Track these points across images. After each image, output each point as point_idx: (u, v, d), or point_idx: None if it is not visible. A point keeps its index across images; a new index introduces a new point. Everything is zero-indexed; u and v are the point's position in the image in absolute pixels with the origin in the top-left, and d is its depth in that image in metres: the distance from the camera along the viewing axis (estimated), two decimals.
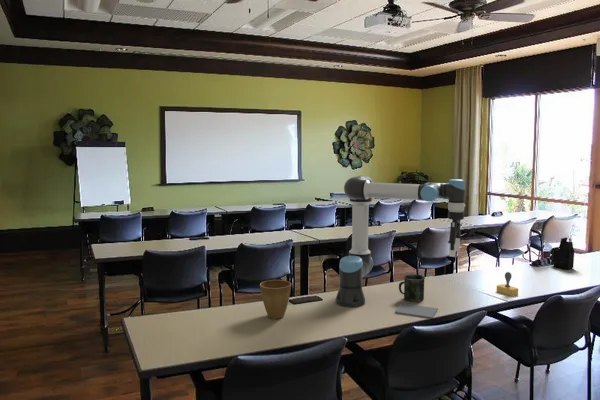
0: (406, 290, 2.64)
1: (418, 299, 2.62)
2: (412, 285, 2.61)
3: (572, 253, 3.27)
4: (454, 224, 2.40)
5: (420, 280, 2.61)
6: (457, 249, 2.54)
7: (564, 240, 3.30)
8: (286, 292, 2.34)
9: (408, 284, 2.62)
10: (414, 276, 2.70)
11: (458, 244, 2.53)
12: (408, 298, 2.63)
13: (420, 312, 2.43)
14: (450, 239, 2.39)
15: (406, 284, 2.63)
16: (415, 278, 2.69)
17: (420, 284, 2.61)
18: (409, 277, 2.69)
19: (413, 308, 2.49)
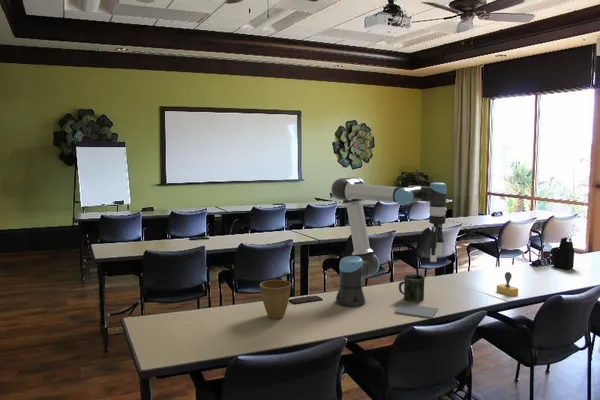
0: (406, 290, 2.64)
1: (418, 299, 2.62)
2: (412, 285, 2.61)
3: (572, 253, 3.27)
4: (435, 228, 2.35)
5: (420, 280, 2.61)
6: (439, 254, 2.48)
7: (564, 240, 3.30)
8: (286, 292, 2.34)
9: (408, 284, 2.62)
10: (414, 276, 2.70)
11: (440, 249, 2.48)
12: (408, 298, 2.63)
13: (420, 312, 2.43)
14: (431, 244, 2.34)
15: (406, 284, 2.63)
16: (415, 278, 2.69)
17: (420, 284, 2.61)
18: (409, 277, 2.69)
19: (413, 308, 2.49)
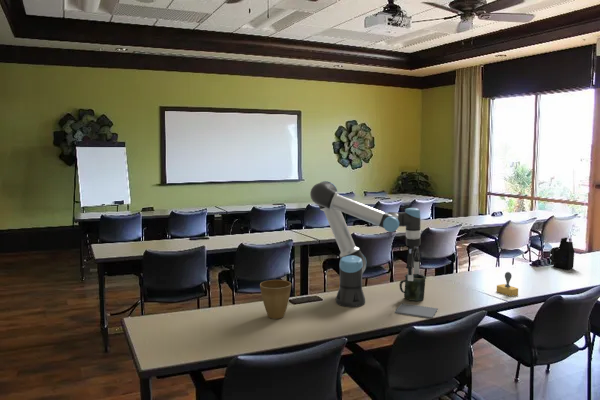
0: (407, 289, 2.64)
1: (418, 298, 2.62)
2: (413, 284, 2.61)
3: (572, 253, 3.27)
4: (411, 251, 2.57)
5: (421, 279, 2.61)
6: (417, 272, 2.70)
7: (564, 240, 3.30)
8: (286, 292, 2.34)
9: (409, 283, 2.62)
10: (415, 276, 2.70)
11: (417, 267, 2.70)
12: (409, 297, 2.63)
13: (420, 312, 2.43)
14: (407, 265, 2.55)
15: (407, 283, 2.64)
16: (416, 278, 2.70)
17: (421, 283, 2.61)
18: None
19: (413, 308, 2.49)
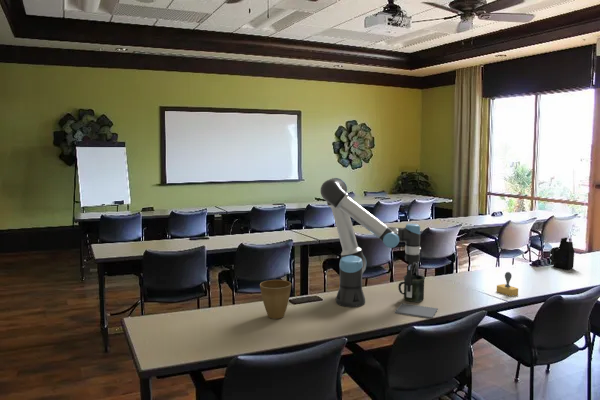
0: (406, 290, 2.63)
1: (418, 299, 2.61)
2: (412, 285, 2.60)
3: (572, 253, 3.27)
4: (410, 267, 2.58)
5: (420, 280, 2.60)
6: None
7: (564, 240, 3.30)
8: (286, 292, 2.34)
9: None
10: (414, 276, 2.69)
11: None
12: (408, 299, 2.62)
13: (420, 312, 2.43)
14: (406, 282, 2.57)
15: None
16: (415, 278, 2.69)
17: (420, 284, 2.61)
18: None
19: (413, 308, 2.49)
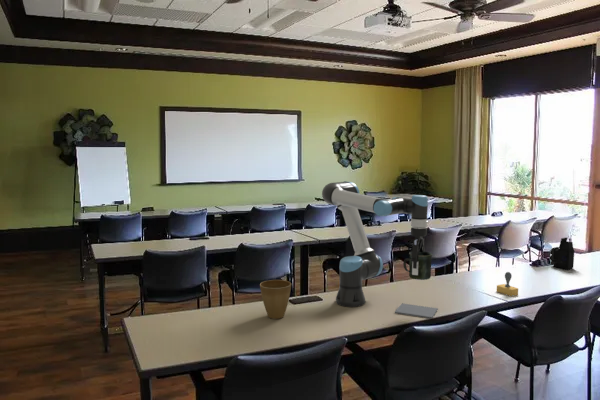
0: (411, 267, 2.42)
1: (424, 277, 2.40)
2: (418, 262, 2.39)
3: (572, 253, 3.27)
4: (416, 242, 2.37)
5: (427, 256, 2.39)
6: None
7: (564, 240, 3.30)
8: (286, 292, 2.34)
9: None
10: (420, 253, 2.48)
11: None
12: (414, 276, 2.41)
13: (420, 312, 2.43)
14: (412, 258, 2.36)
15: (411, 261, 2.42)
16: (421, 255, 2.48)
17: (427, 261, 2.39)
18: None
19: (413, 308, 2.49)
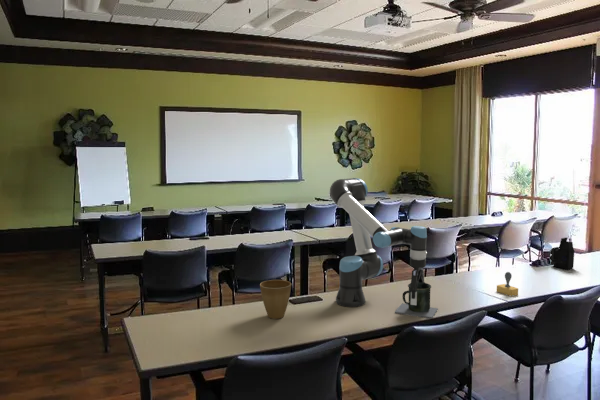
0: (410, 300, 2.45)
1: (423, 310, 2.43)
2: (417, 295, 2.42)
3: (572, 253, 3.27)
4: (415, 272, 2.38)
5: (425, 289, 2.41)
6: None
7: (564, 240, 3.30)
8: (286, 293, 2.34)
9: None
10: (419, 284, 2.50)
11: None
12: (413, 309, 2.44)
13: (420, 312, 2.43)
14: (411, 288, 2.37)
15: (410, 293, 2.44)
16: (421, 286, 2.50)
17: (425, 294, 2.42)
18: None
19: None
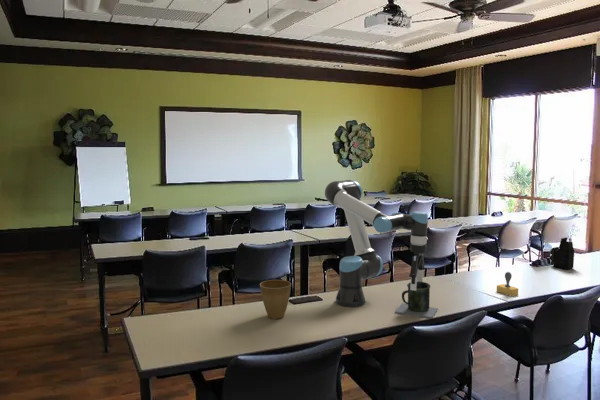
0: (410, 299, 2.45)
1: (423, 309, 2.43)
2: (416, 294, 2.42)
3: (572, 253, 3.27)
4: (415, 258, 2.37)
5: (425, 289, 2.42)
6: (420, 281, 2.51)
7: (564, 240, 3.30)
8: (286, 292, 2.34)
9: (412, 293, 2.44)
10: (419, 284, 2.50)
11: (421, 276, 2.51)
12: (412, 308, 2.44)
13: (420, 312, 2.43)
14: (411, 273, 2.36)
15: (410, 293, 2.45)
16: (420, 286, 2.50)
17: (425, 293, 2.42)
18: None
19: None
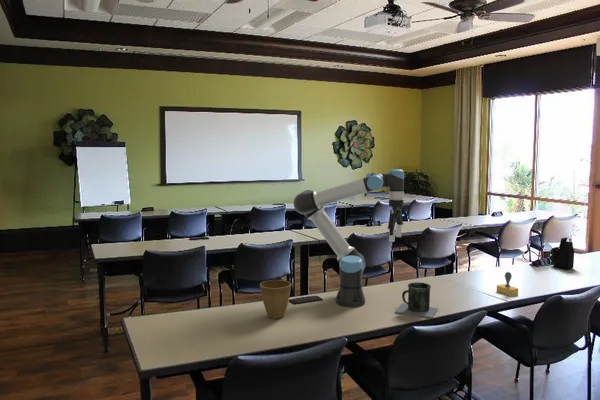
0: (410, 299, 2.45)
1: (423, 309, 2.43)
2: (416, 294, 2.43)
3: (572, 253, 3.27)
4: (393, 211, 2.57)
5: (425, 289, 2.42)
6: (399, 235, 2.71)
7: (564, 240, 3.30)
8: (286, 293, 2.34)
9: (412, 293, 2.44)
10: (419, 284, 2.51)
11: (400, 230, 2.70)
12: (413, 308, 2.44)
13: (420, 312, 2.43)
14: (389, 225, 2.56)
15: (410, 293, 2.45)
16: (420, 286, 2.51)
17: (425, 293, 2.43)
18: (414, 285, 2.51)
19: None
